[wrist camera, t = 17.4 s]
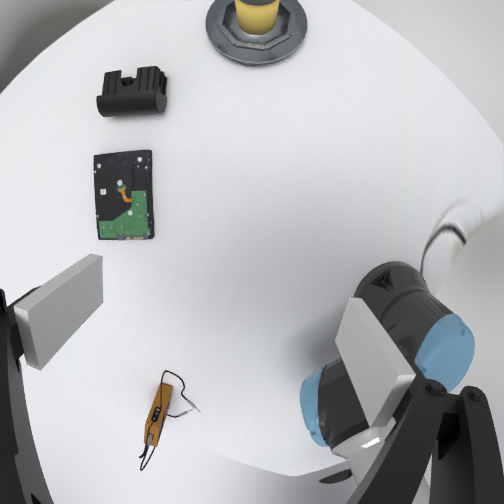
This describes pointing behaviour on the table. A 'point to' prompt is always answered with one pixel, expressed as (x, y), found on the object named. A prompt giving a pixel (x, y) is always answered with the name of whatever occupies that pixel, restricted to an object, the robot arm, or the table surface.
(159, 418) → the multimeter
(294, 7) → the grey round dish
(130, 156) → the disk drive
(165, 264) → the table surface
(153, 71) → the end cap
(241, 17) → the capped yellow cylinder
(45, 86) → the table surface
